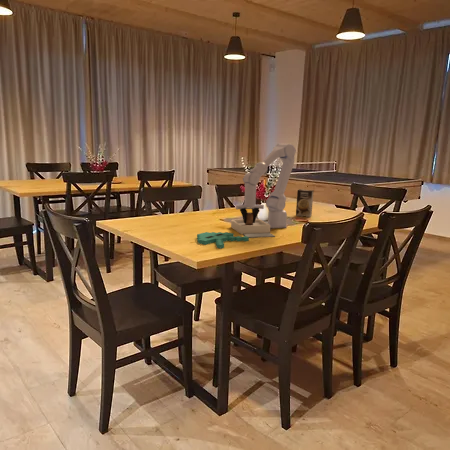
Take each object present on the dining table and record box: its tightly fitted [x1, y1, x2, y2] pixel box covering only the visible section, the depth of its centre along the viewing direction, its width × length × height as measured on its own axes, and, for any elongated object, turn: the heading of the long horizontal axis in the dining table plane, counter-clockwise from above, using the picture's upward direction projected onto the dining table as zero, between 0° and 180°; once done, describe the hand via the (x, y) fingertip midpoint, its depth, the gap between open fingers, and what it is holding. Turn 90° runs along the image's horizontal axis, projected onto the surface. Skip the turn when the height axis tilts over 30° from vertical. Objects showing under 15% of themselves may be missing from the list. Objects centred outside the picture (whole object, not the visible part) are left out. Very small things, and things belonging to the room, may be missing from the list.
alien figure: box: [196, 231, 250, 250], centre depth 187 cm, size 20×2×20 cm
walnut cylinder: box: [245, 211, 253, 225], centre depth 211 cm, size 4×4×6 cm
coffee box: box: [295, 188, 315, 218], centre depth 253 cm, size 9×6×16 cm
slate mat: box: [242, 232, 276, 239], centre depth 199 cm, size 14×7×1 cm, turn 106°
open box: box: [230, 218, 271, 235], centre depth 210 cm, size 16×16×4 cm
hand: (249, 222), depth 211 cm, fingers closed on walnut cylinder, 4 cm apart
